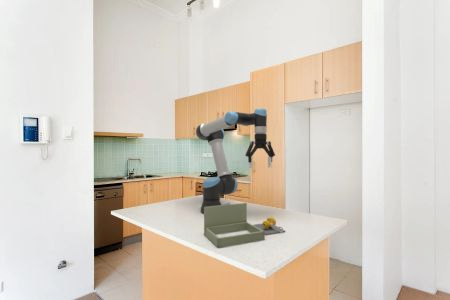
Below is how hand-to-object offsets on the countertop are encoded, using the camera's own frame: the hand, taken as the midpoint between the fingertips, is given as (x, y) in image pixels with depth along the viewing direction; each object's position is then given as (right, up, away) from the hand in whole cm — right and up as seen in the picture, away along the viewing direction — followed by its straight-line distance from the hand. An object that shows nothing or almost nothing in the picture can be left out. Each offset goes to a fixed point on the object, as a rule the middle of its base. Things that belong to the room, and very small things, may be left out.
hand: (260, 167), depth 153 cm
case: (-18, -32, -34) cm, 50 cm away
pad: (+1, -32, -21) cm, 38 cm away
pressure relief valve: (+4, -31, -23) cm, 39 cm away
